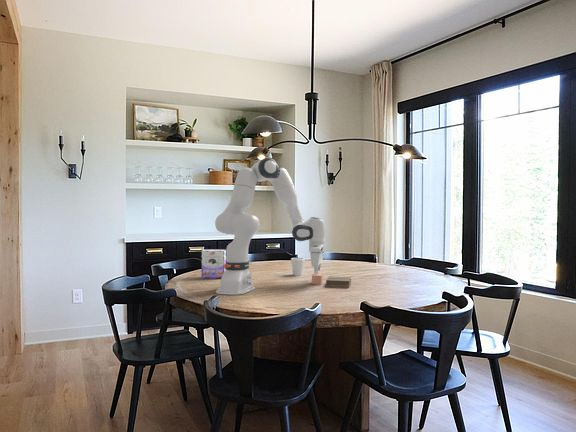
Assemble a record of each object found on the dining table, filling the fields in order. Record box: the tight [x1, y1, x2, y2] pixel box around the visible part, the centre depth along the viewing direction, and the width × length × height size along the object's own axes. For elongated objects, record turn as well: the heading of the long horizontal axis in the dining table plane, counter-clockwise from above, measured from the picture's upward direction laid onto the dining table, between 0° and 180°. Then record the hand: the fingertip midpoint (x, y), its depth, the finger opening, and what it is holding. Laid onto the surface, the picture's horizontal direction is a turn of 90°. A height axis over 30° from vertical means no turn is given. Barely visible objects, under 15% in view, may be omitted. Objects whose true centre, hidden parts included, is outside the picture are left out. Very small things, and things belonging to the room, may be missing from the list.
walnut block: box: [325, 275, 352, 289], centre depth 252 cm, size 12×12×4 cm
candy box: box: [200, 249, 227, 279], centre depth 274 cm, size 14×6×16 cm, turn 84°
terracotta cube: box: [311, 273, 323, 286], centre depth 256 cm, size 5×5×5 cm
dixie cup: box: [290, 257, 305, 277], centre depth 284 cm, size 8×8×10 cm
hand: (317, 271), depth 257 cm, fingers open, 8 cm apart
